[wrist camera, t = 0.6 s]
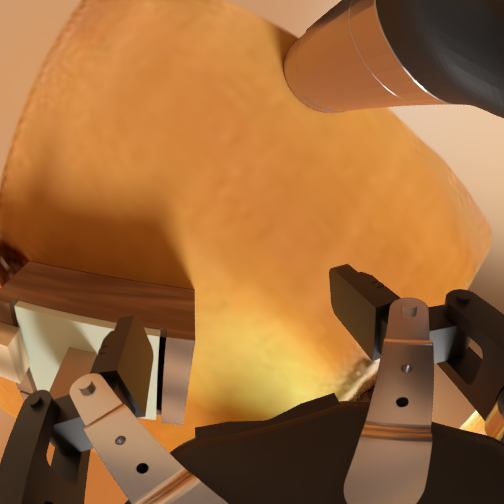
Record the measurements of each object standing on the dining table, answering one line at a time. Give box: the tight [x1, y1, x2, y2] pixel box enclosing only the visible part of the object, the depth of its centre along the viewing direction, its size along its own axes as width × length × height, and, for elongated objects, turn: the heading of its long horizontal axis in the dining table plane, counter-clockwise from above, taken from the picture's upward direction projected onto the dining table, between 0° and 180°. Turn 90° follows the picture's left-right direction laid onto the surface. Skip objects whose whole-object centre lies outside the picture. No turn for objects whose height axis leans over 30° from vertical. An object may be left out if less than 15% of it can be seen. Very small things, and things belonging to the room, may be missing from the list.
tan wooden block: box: [0, 322, 30, 384], centre depth 20 cm, size 5×3×3 cm, turn 167°
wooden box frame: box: [0, 261, 195, 425], centre depth 29 cm, size 21×21×9 cm
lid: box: [14, 301, 160, 420], centre depth 22 cm, size 13×15×9 cm
